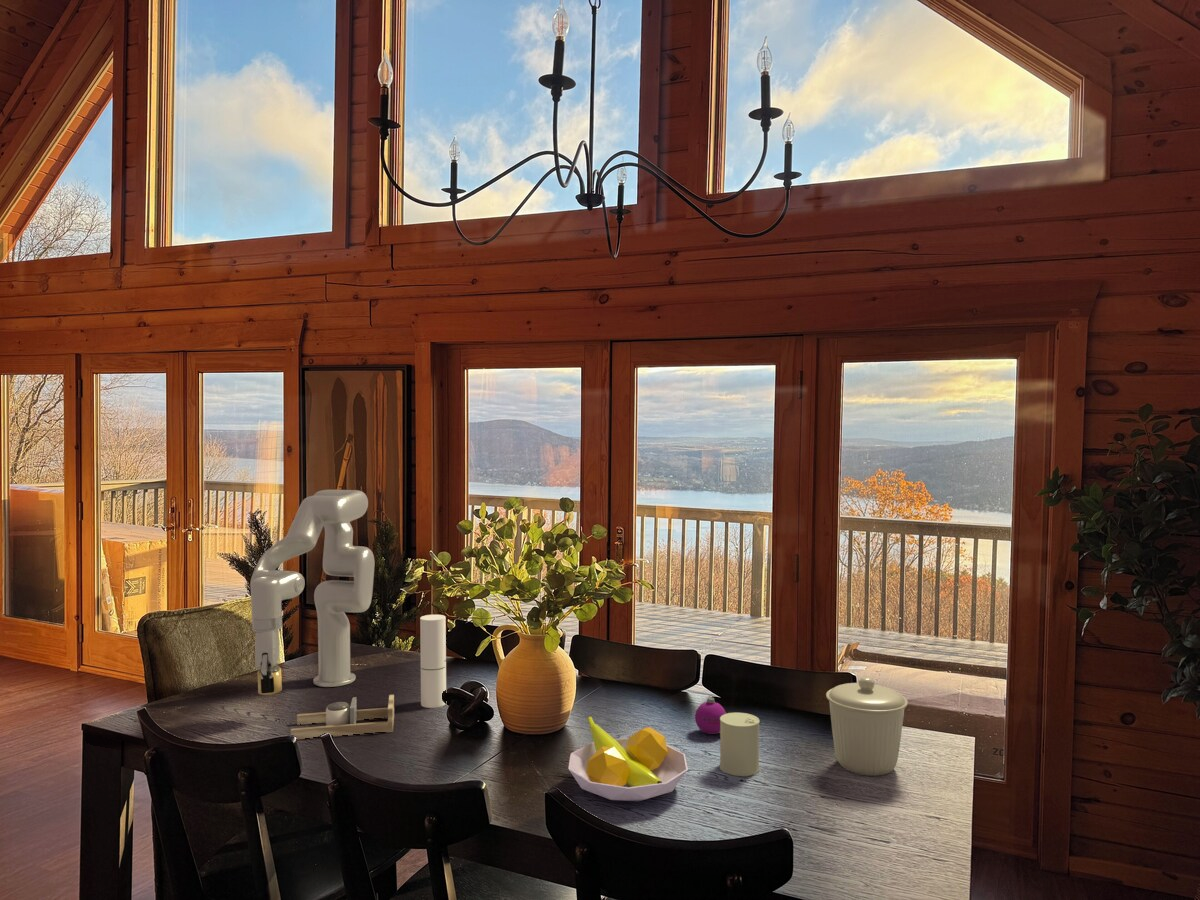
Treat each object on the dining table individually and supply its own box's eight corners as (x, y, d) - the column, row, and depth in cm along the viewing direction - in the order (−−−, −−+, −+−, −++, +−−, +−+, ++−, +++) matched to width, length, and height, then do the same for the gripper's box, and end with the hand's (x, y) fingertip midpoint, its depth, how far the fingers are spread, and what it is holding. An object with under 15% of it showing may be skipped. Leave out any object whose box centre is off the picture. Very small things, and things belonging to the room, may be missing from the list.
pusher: (352, 719, 222) (352, 697, 222) (356, 719, 222) (356, 697, 222) (350, 731, 213) (349, 708, 213) (354, 730, 213) (353, 708, 213)
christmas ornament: (701, 740, 208) (701, 701, 207) (690, 728, 216) (690, 691, 215) (731, 737, 210) (731, 698, 209) (719, 726, 218) (719, 689, 217)
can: (750, 779, 185) (750, 727, 184) (713, 770, 190) (713, 719, 189) (765, 765, 192) (765, 714, 192) (728, 757, 197) (729, 707, 197)
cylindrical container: (449, 699, 239) (448, 614, 238) (442, 708, 232) (441, 620, 231) (425, 699, 240) (424, 614, 239) (417, 707, 233) (416, 620, 232)
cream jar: (327, 725, 219) (327, 702, 219) (350, 723, 220) (350, 700, 220) (324, 733, 213) (324, 709, 213) (349, 731, 214) (348, 708, 214)
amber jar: (260, 687, 225) (259, 665, 224) (283, 685, 226) (282, 663, 225) (256, 695, 219) (255, 673, 218) (280, 693, 220) (279, 671, 220)
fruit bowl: (708, 804, 172) (708, 751, 172) (584, 822, 165) (584, 767, 164) (661, 754, 199) (661, 708, 199) (552, 767, 192) (552, 719, 191)
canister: (817, 751, 201) (818, 666, 200) (892, 752, 200) (893, 666, 199) (836, 783, 183) (837, 689, 182) (918, 784, 182) (919, 690, 181)
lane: (297, 723, 220) (297, 701, 220) (394, 716, 226) (393, 694, 225) (290, 740, 208) (290, 716, 208) (392, 731, 214) (392, 709, 214)
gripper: (258, 615, 229) (261, 678, 230) (245, 633, 212) (248, 701, 213) (287, 613, 230) (289, 676, 232) (276, 631, 213) (279, 698, 215)
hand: (270, 687), depth 222 cm, fingers closed on amber jar, 6 cm apart
